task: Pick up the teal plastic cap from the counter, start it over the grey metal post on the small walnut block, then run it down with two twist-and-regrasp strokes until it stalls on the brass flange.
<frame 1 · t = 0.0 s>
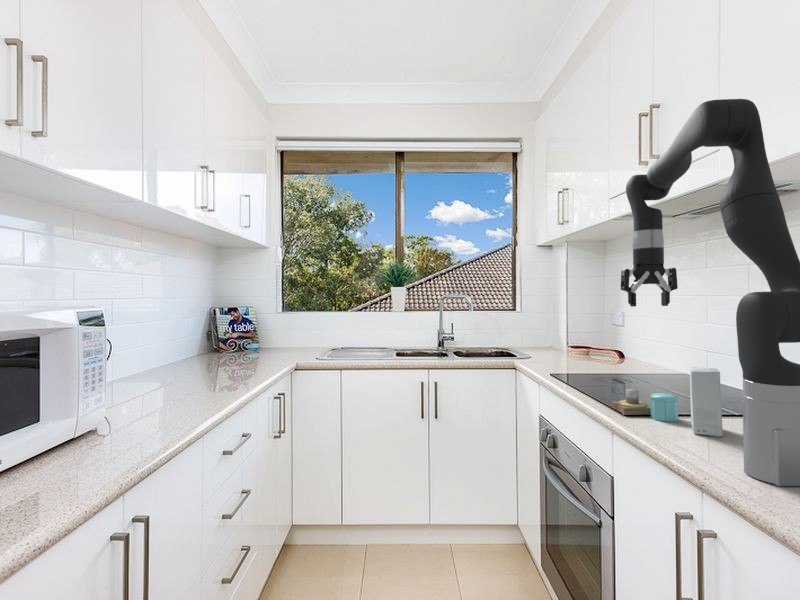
hand: (649, 306, 128), 29 cm above the worktop, tool pointing down, fingers open, 8 cm apart
skincare box: (705, 432, 110), on the worktop
board: (632, 411, 128), on the worktop
cap: (664, 418, 121), on the worktop
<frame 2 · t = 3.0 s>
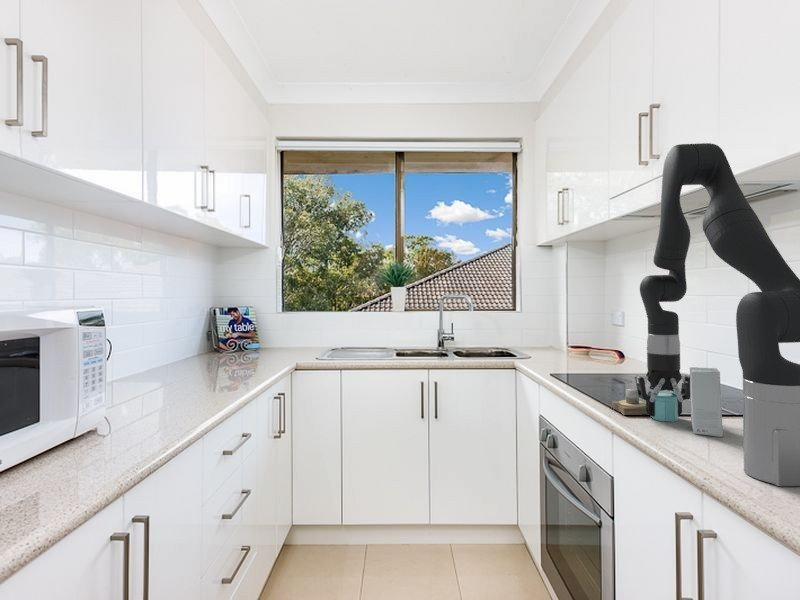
hand: (664, 415, 121), 1 cm above the worktop, tool pointing down, fingers closed on cap, 5 cm apart
cap: (664, 418, 121), on the worktop, touching gripper
everything else where it was.
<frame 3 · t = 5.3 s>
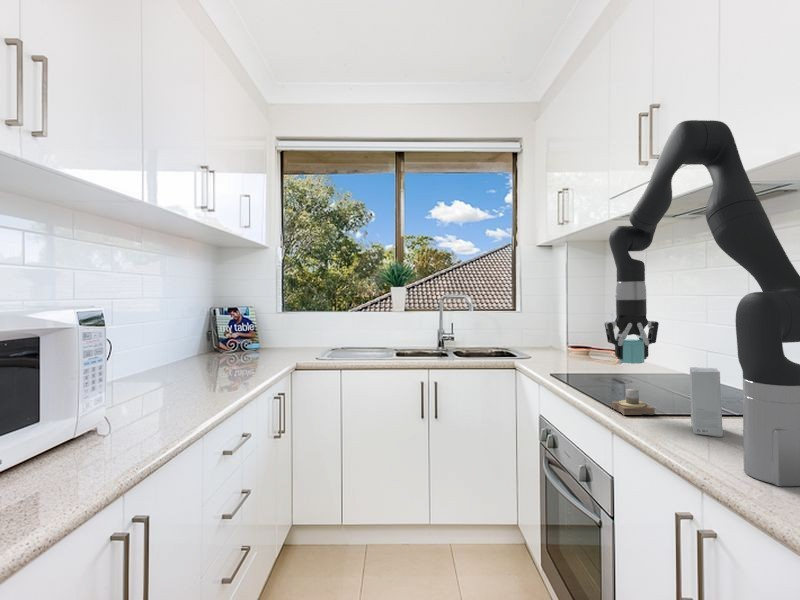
hand: (631, 358, 128), 15 cm above the worktop, tool pointing down, fingers closed on cap, 5 cm apart
cap: (631, 361, 128), point 14 cm above the worktop, touching gripper
everything else where it was.
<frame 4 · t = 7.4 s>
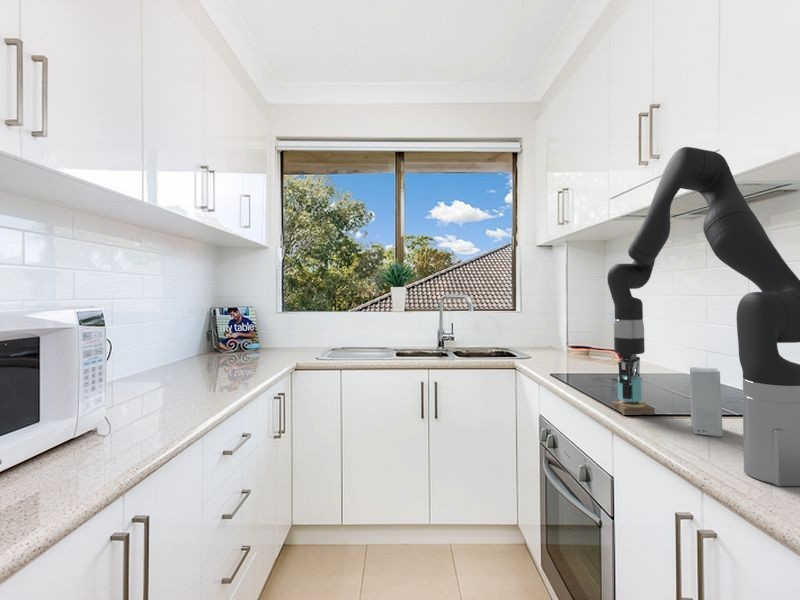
hand: (630, 396, 128), 4 cm above the worktop, tool pointing down, fingers closed on cap, 5 cm apart
cap: (630, 399, 128), point 4 cm above the worktop, touching gripper
everything else where it was.
when the fingers open (4 cm above the worktop, at t = 8.0 s): cap stays where it is, resting on board.
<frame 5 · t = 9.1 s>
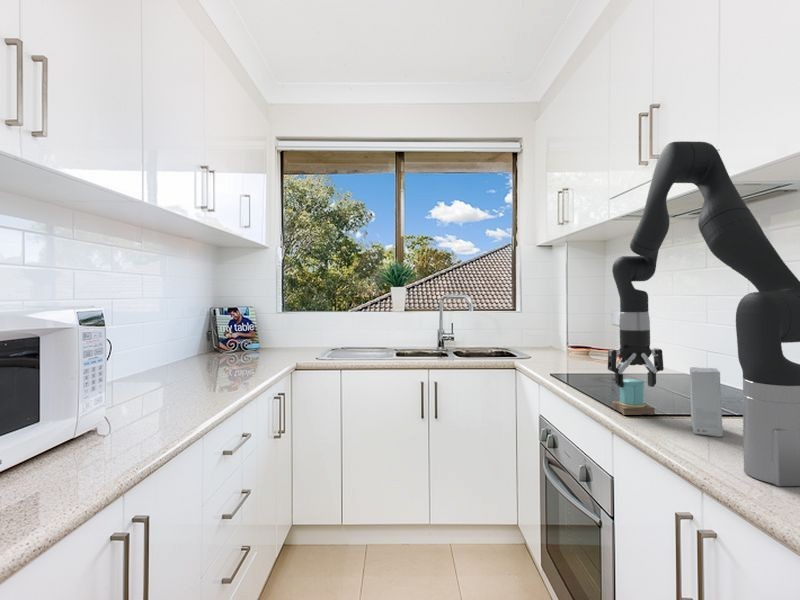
hand: (635, 386, 128), 7 cm above the worktop, tool pointing down, fingers open, 8 cm apart
cap: (631, 402, 128), point 3 cm above the worktop, touching board
everything else where it was.
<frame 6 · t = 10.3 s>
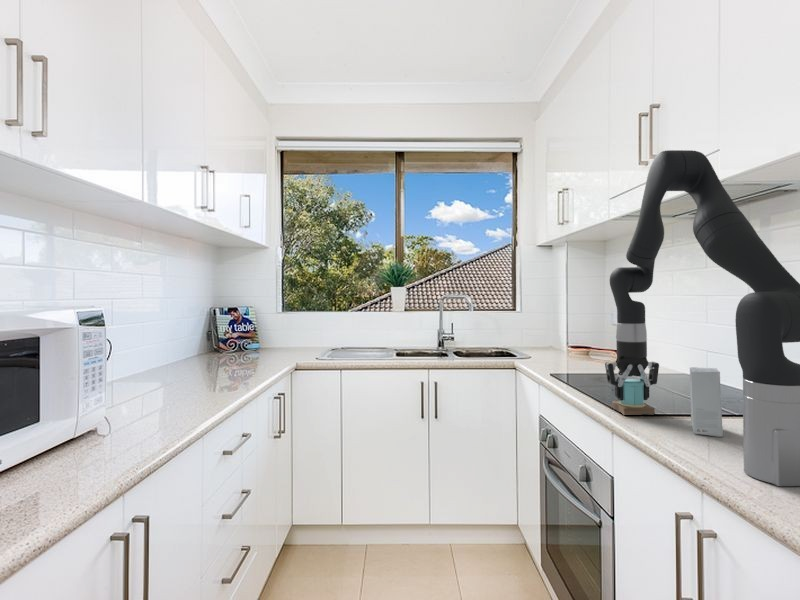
hand: (632, 399, 128), 3 cm above the worktop, tool pointing down, fingers closed on cap, 6 cm apart
cap: (631, 402, 128), point 2 cm above the worktop, touching board, gripper
everything else where it was.
when the fingers open (4 cm above the worktop, at t = 11.8 s): cap stays where it is, resting on board.
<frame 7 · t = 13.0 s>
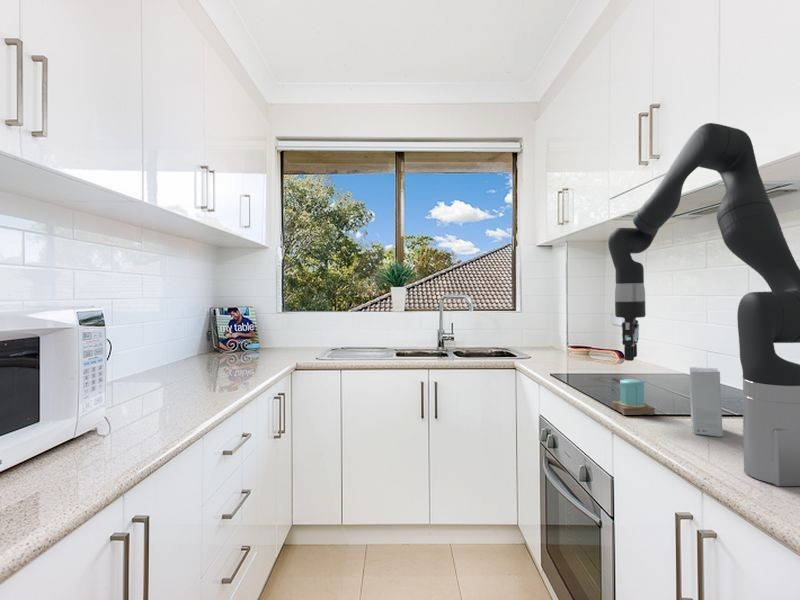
hand: (630, 358, 128), 15 cm above the worktop, tool pointing down, fingers open, 8 cm apart
cap: (632, 402, 128), point 2 cm above the worktop, touching board
everything else where it was.
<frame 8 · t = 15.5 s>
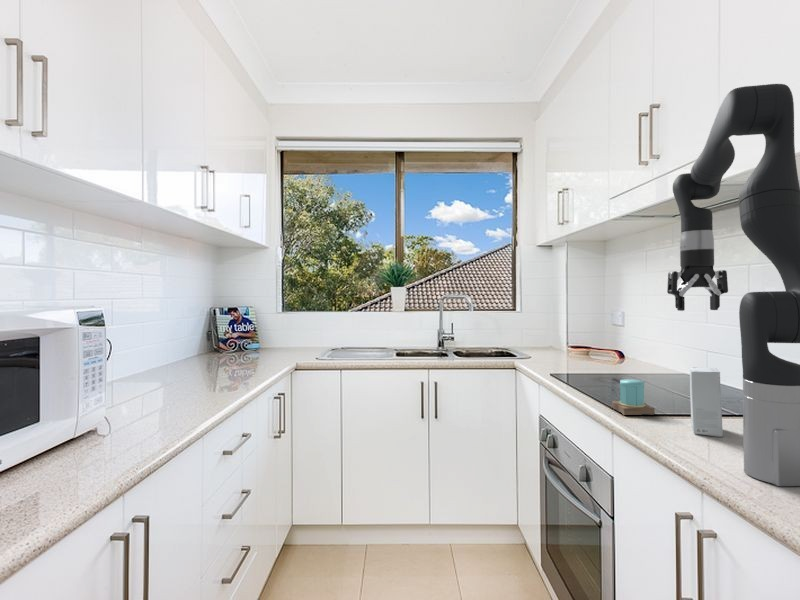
hand: (697, 310, 122), 28 cm above the worktop, tool pointing down, fingers open, 8 cm apart
nothing on the worktop moved.
at the end: cap 0.0 cm off-centre on the board, point 2.5 cm above the board's base; cap tilted 0°; the gripper is holding nothing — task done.
